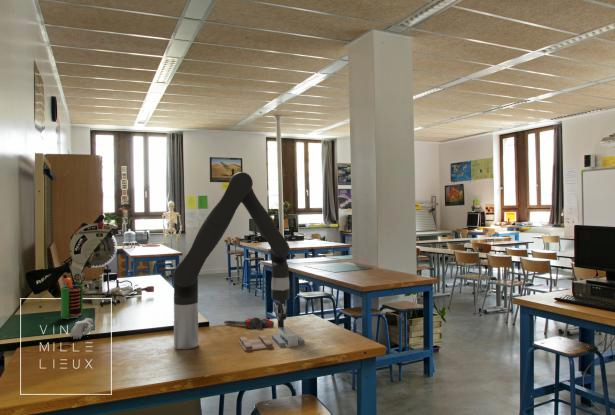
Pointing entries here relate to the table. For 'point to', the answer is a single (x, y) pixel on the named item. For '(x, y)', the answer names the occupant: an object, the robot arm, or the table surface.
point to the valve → (254, 323)
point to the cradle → (255, 343)
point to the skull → (81, 328)
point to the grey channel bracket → (281, 343)
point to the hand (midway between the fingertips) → (280, 328)
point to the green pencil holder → (71, 299)
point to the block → (288, 336)
